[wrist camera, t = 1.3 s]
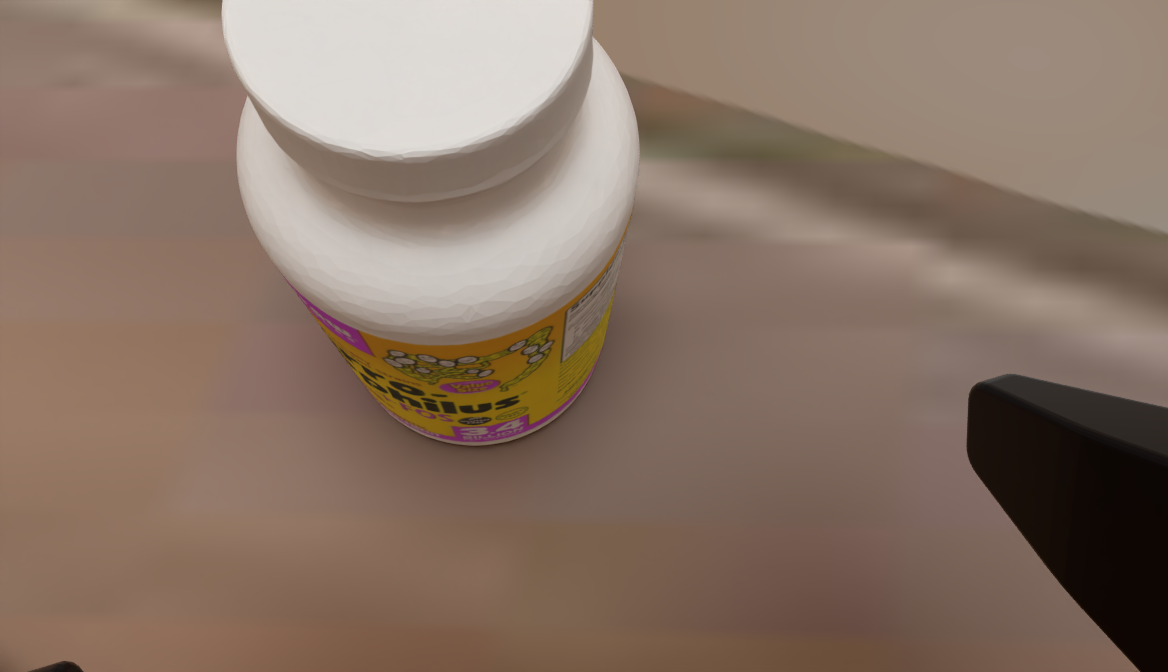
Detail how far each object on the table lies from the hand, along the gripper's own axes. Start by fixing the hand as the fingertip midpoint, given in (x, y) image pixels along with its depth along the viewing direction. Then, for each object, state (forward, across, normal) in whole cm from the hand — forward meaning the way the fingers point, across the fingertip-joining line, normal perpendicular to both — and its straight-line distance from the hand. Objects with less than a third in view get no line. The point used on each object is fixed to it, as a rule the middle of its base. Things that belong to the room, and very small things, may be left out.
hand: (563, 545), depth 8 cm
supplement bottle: (+14, 0, +4) cm, 15 cm away
